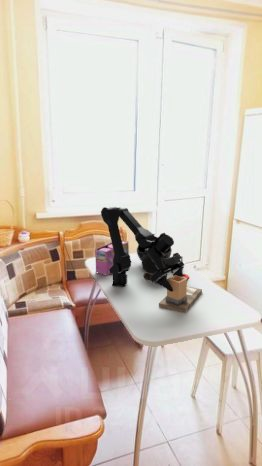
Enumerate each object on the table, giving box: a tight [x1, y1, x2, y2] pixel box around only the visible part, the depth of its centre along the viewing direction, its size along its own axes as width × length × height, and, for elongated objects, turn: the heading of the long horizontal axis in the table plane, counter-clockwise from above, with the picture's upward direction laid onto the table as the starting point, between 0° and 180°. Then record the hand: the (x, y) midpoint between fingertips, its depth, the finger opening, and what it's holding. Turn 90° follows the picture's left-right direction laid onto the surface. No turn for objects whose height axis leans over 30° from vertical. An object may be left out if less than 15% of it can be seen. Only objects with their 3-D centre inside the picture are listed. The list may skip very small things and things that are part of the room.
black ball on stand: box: [141, 255, 158, 282], centre depth 173 cm, size 13×13×15 cm
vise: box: [165, 295, 187, 306], centre depth 144 cm, size 7×10×6 cm
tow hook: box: [180, 255, 190, 280], centre depth 173 cm, size 8×13×9 cm
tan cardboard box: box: [166, 275, 188, 301], centre depth 142 cm, size 6×6×8 cm
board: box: [158, 286, 203, 314], centre depth 149 cm, size 23×12×2 cm, turn 152°
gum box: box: [95, 240, 130, 276], centre depth 187 cm, size 24×8×14 cm, turn 149°
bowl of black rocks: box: [136, 233, 173, 262], centre depth 190 cm, size 20×20×19 cm
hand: (178, 287), depth 142 cm, fingers open, 9 cm apart
